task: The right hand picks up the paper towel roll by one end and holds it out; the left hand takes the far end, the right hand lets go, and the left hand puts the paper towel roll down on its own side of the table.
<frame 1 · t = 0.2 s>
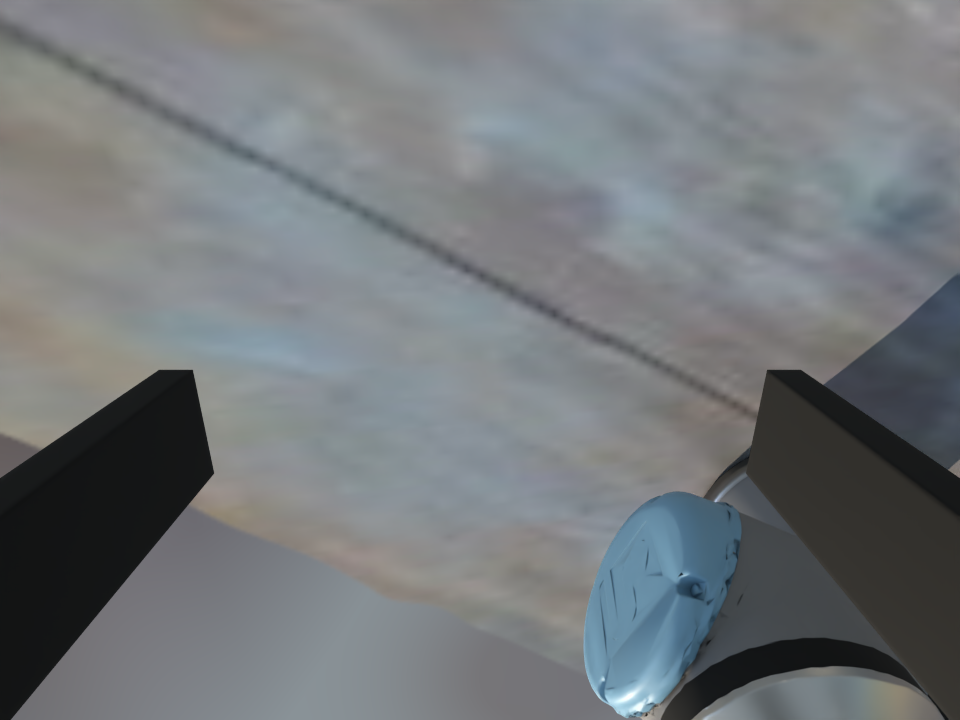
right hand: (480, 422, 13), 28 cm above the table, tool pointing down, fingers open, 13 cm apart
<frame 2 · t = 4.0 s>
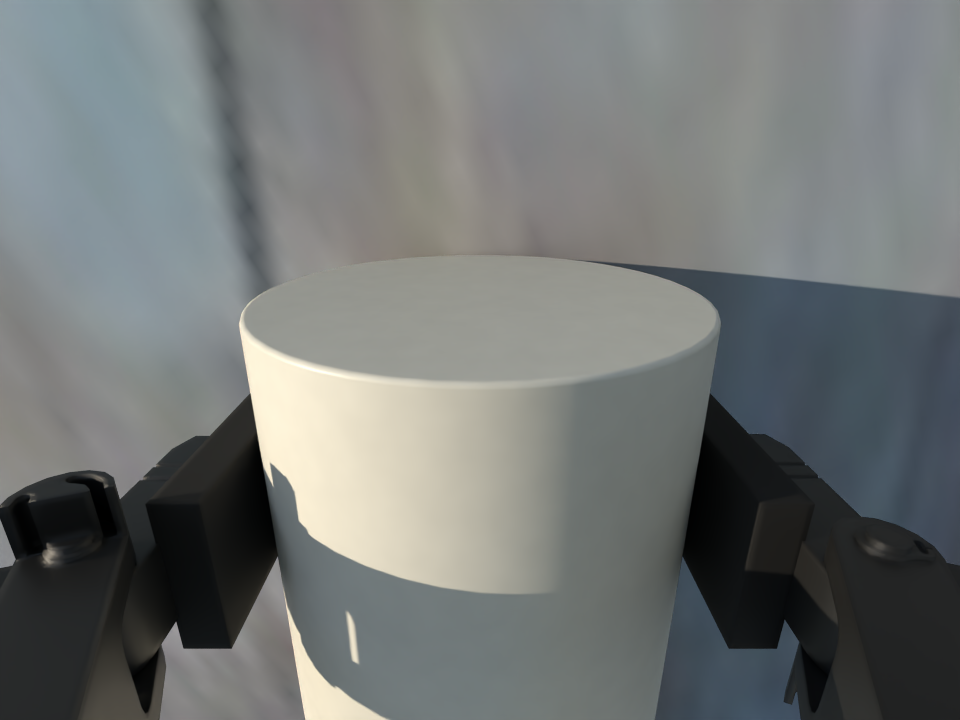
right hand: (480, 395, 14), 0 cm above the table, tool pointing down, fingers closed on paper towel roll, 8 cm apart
paper towel roll: (480, 659, 18), on the table, touching right hand
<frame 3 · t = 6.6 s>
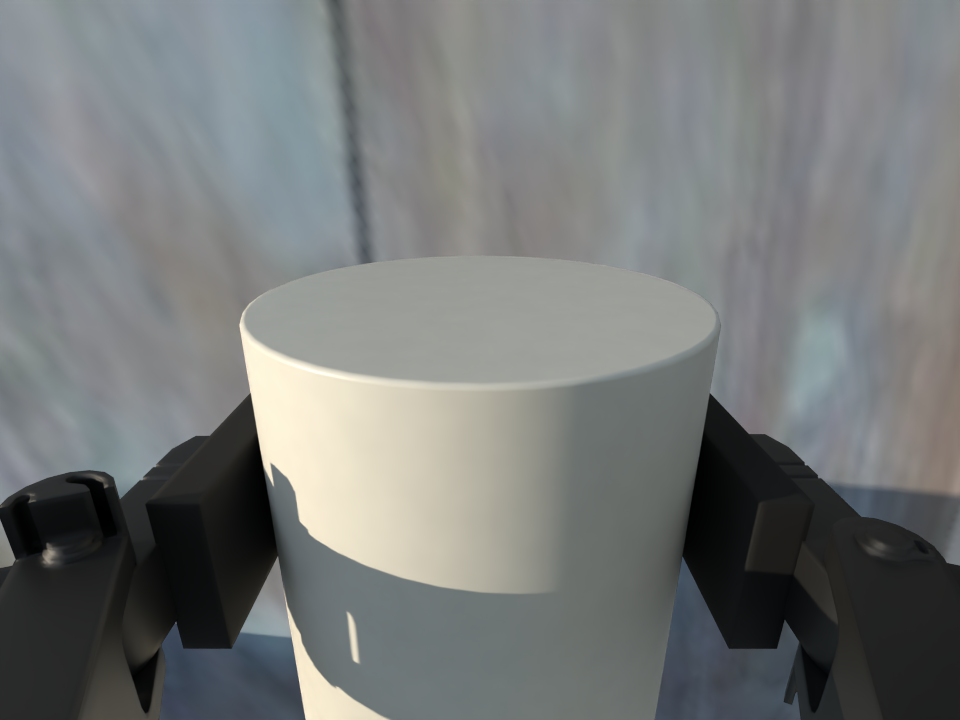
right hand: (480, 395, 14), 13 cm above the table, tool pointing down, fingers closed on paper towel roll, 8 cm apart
paper towel roll: (480, 659, 18), point 12 cm above the table, touching right hand
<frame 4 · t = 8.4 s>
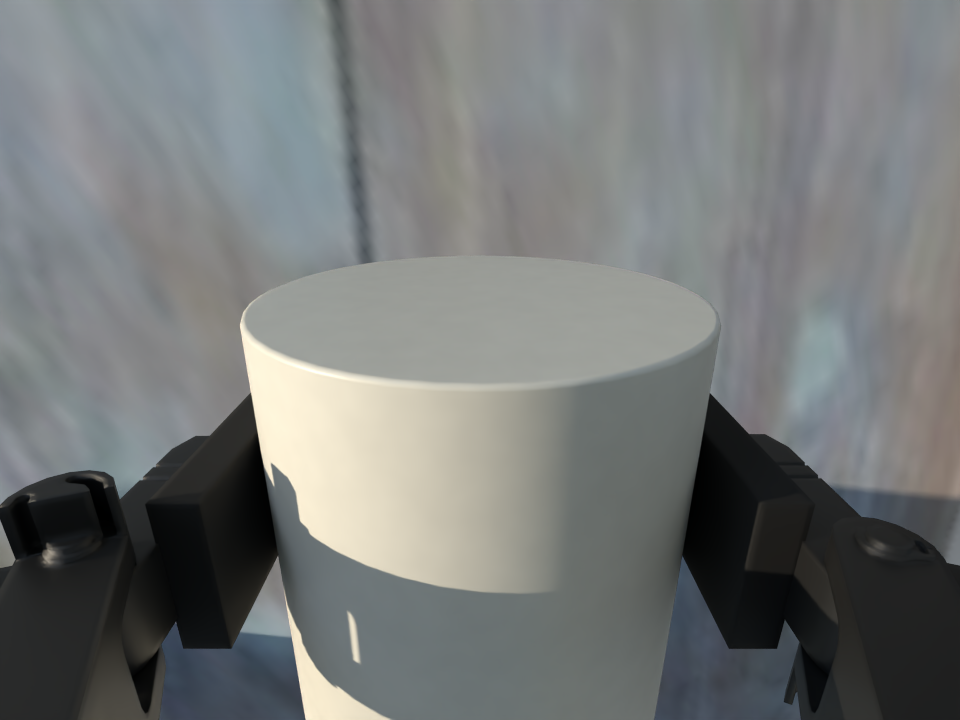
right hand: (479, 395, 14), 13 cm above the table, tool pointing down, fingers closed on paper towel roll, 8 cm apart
paper towel roll: (479, 658, 18), point 12 cm above the table, touching right hand, left hand
when the right hand's fingers open (13 cm above the table, at t = 9.5 s): paper towel roll stays where it is, held by the left hand.
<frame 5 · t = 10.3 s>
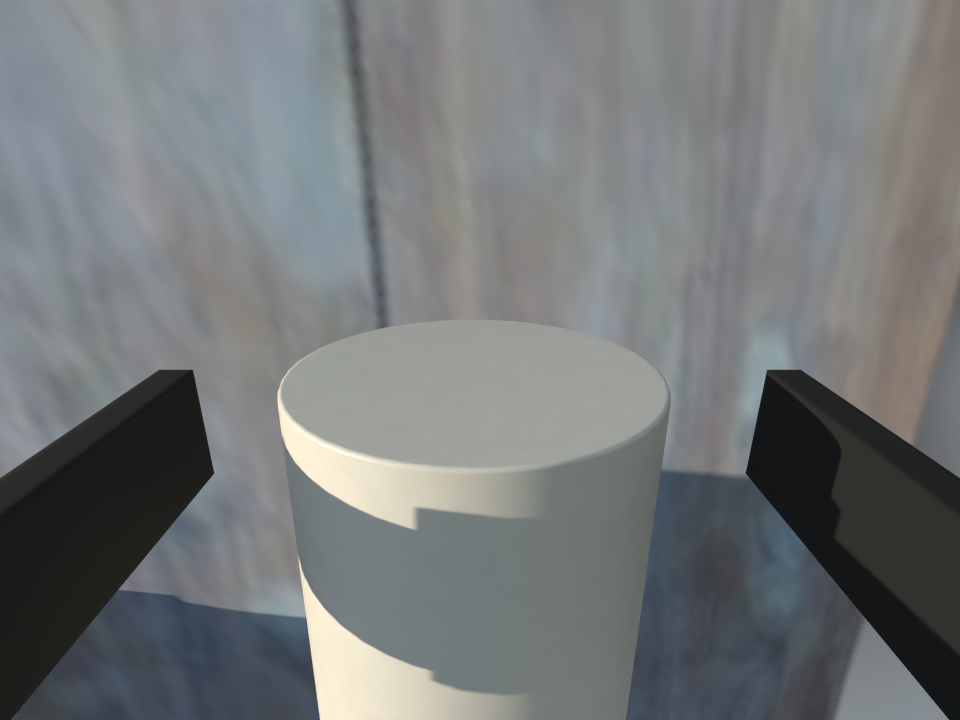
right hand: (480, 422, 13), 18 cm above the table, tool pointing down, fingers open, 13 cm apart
paper towel roll: (473, 675, 20), point 15 cm above the table, touching left hand
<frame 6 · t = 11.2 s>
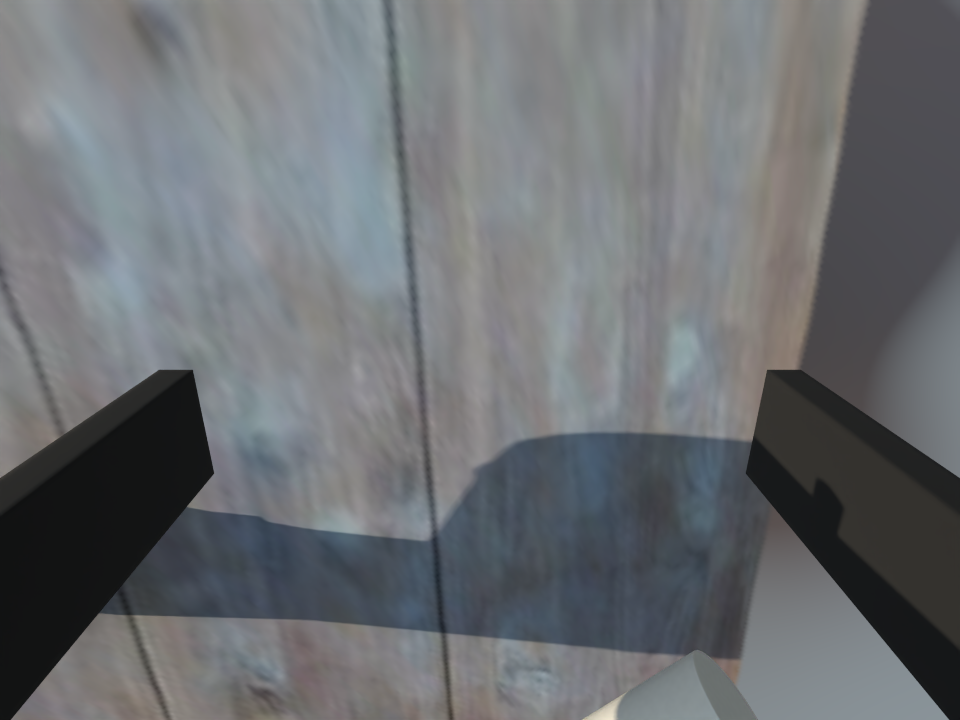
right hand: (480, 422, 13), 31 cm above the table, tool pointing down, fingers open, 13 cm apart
when the left hand's fingers open (2 cm above the table, at t = 14.1 s): paper towel roll drops 2 cm, on the table.
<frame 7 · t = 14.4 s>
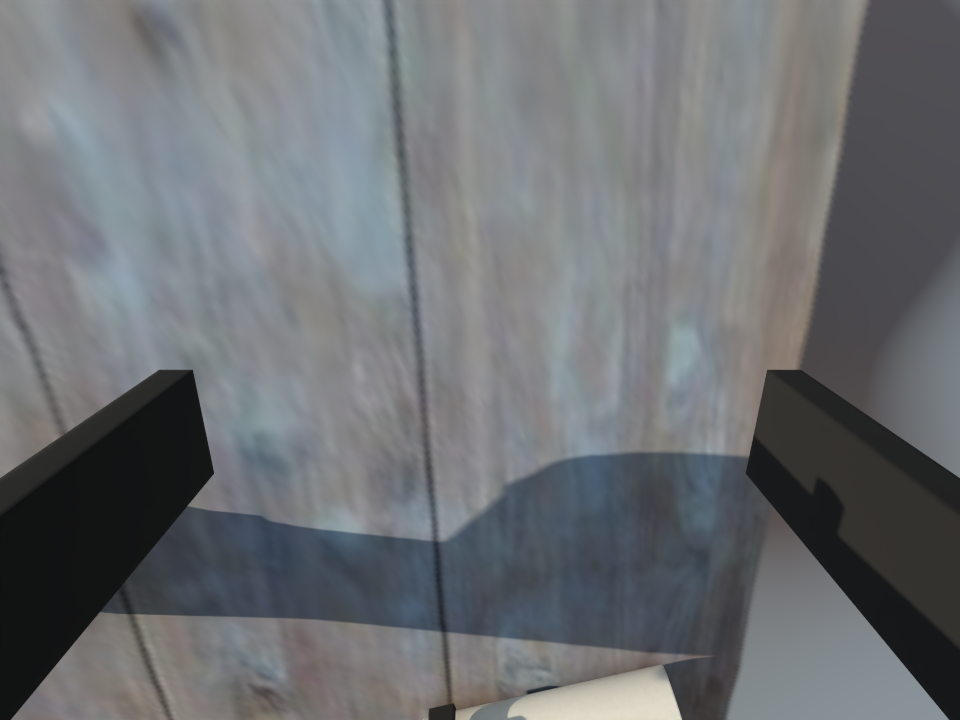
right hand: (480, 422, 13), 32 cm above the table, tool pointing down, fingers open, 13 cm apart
paper towel roll: (545, 699, 60), on the table
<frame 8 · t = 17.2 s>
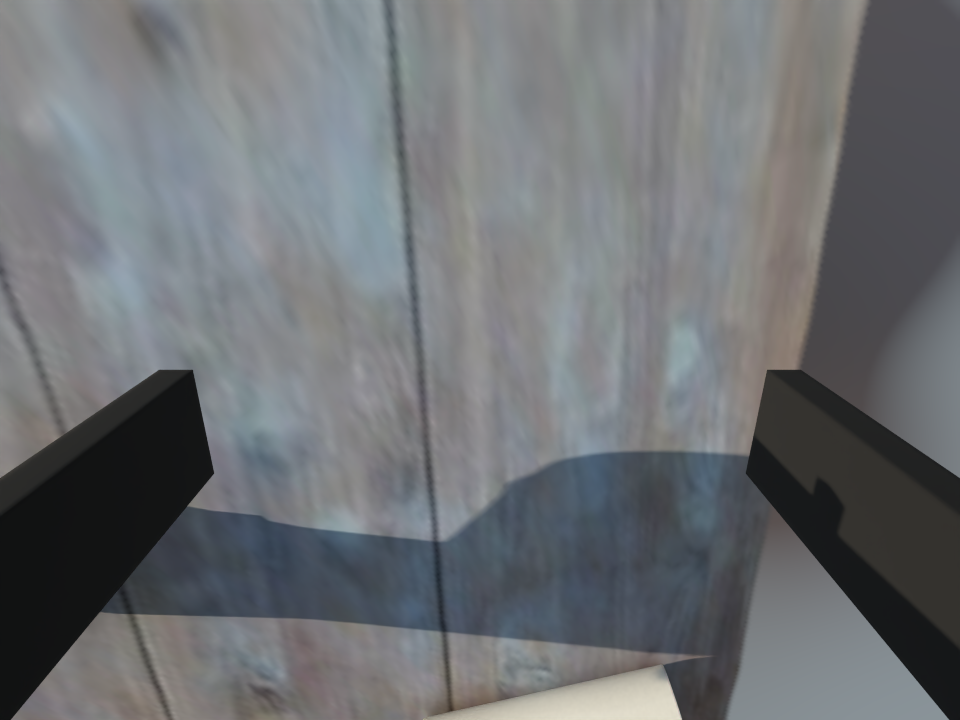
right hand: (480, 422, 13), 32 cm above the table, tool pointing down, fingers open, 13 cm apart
paper towel roll: (545, 699, 60), on the table
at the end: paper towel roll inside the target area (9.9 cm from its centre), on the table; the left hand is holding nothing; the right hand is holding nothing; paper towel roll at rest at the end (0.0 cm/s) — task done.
